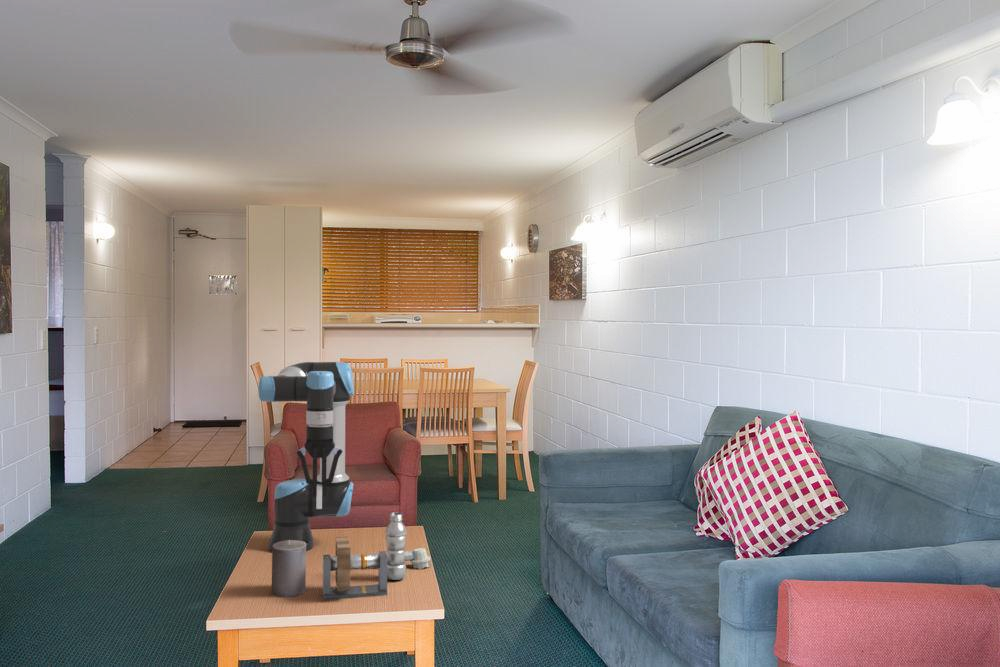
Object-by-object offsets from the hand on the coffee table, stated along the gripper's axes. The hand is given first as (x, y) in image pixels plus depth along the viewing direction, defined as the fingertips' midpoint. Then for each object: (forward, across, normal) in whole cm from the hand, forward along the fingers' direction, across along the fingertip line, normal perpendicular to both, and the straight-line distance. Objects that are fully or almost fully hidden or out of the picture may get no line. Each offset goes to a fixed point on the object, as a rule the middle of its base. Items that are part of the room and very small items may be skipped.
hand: (319, 507), depth 223 cm
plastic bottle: (+26, +23, +10) cm, 36 cm away
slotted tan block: (+22, +7, 0) cm, 23 cm away
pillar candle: (+26, -8, +6) cm, 28 cm away
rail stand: (+25, +10, 0) cm, 27 cm away
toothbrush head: (+26, +23, +22) cm, 41 cm away
